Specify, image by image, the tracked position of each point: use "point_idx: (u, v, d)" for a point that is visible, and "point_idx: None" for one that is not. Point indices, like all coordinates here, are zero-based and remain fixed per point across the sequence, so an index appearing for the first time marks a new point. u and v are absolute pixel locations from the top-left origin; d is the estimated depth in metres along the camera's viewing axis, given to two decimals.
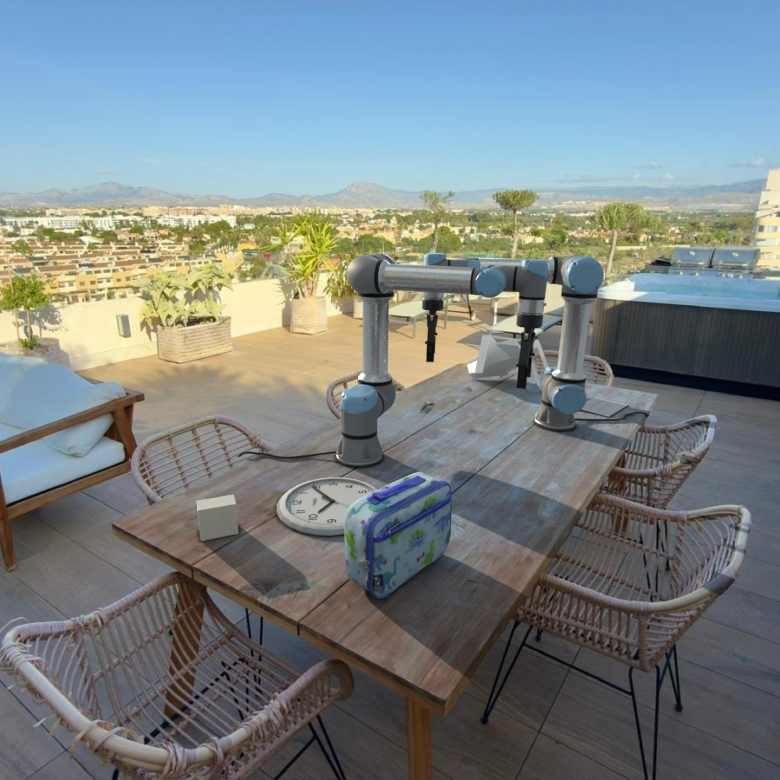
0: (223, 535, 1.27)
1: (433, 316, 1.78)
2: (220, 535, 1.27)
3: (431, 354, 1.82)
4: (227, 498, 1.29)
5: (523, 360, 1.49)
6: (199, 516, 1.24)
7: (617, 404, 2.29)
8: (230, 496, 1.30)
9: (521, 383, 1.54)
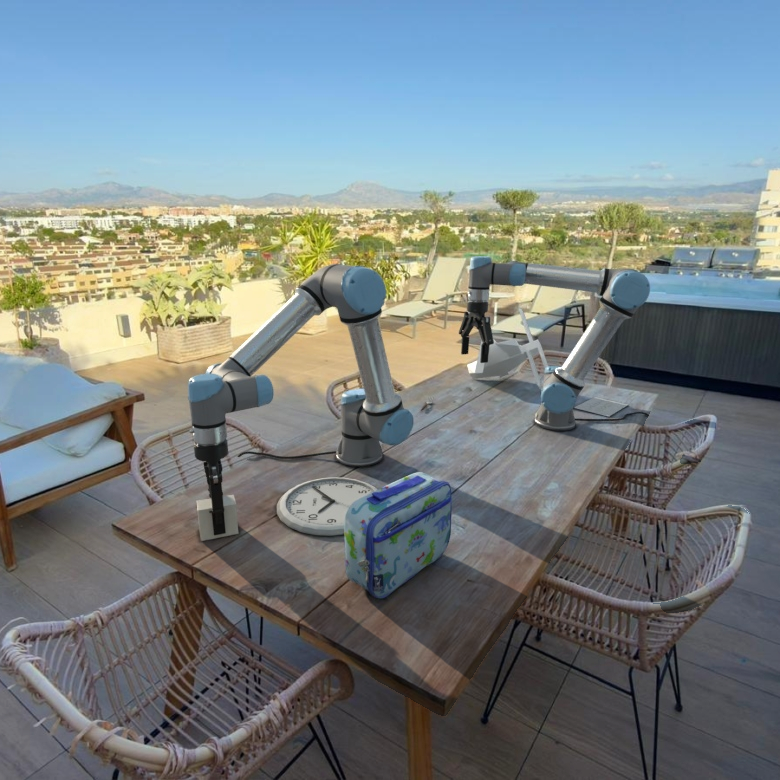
0: (223, 535, 1.27)
1: (488, 318, 1.84)
2: (220, 535, 1.27)
3: (486, 355, 1.87)
4: (227, 498, 1.29)
5: None
6: (199, 516, 1.24)
7: (617, 404, 2.29)
8: (230, 496, 1.30)
9: None
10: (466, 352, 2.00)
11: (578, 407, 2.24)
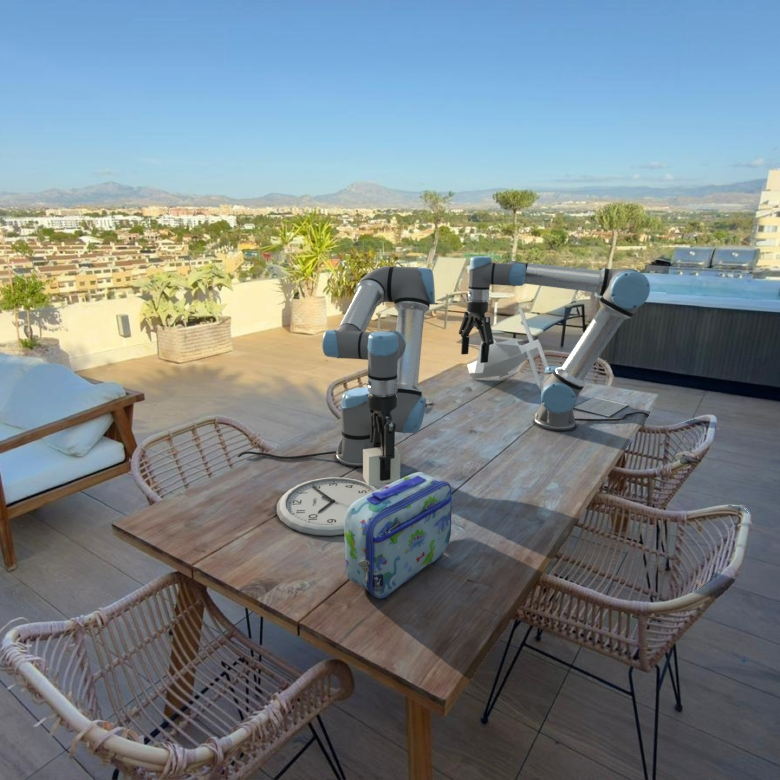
0: (387, 481, 1.39)
1: (488, 318, 1.84)
2: (385, 481, 1.39)
3: (486, 355, 1.87)
4: None
5: None
6: (369, 462, 1.35)
7: (617, 404, 2.29)
8: None
9: None
10: (466, 352, 2.00)
11: (578, 407, 2.24)
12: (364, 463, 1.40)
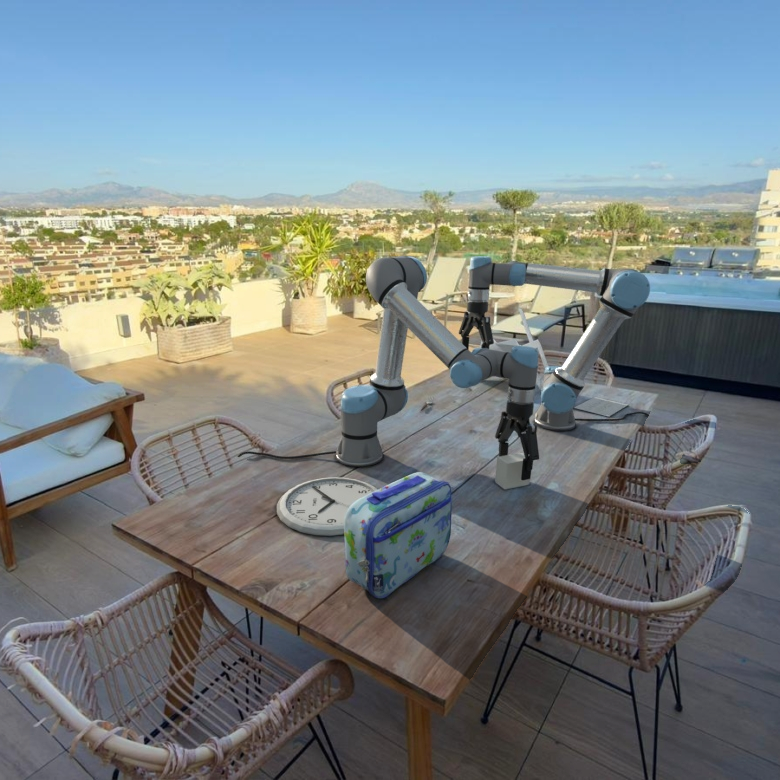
0: (519, 485, 1.55)
1: (488, 318, 1.84)
2: (517, 485, 1.55)
3: None
4: (520, 455, 1.56)
5: None
6: (507, 468, 1.51)
7: (617, 404, 2.29)
8: (521, 454, 1.57)
9: None
10: None
11: (578, 407, 2.24)
12: (498, 469, 1.55)
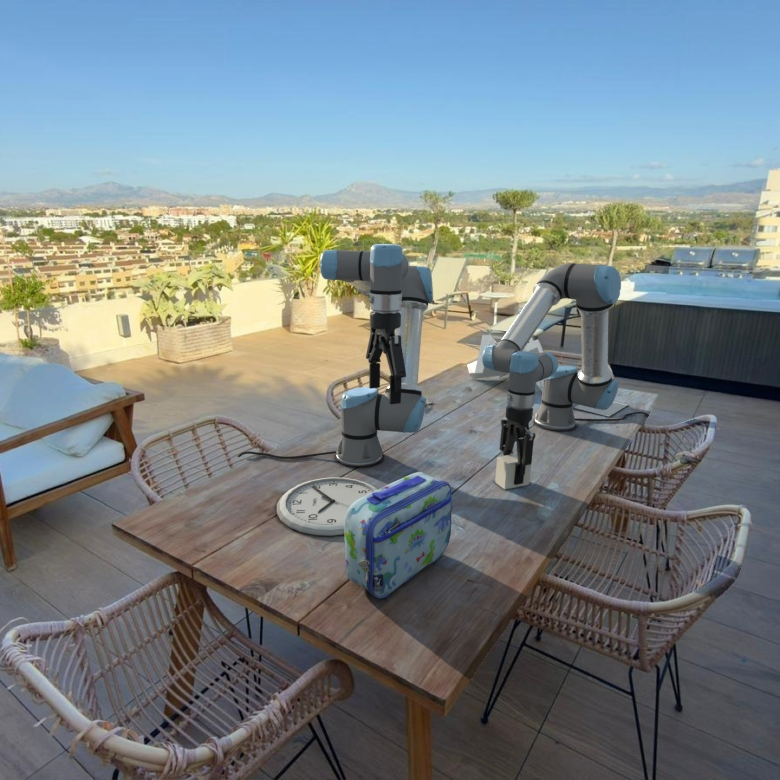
0: (519, 485, 1.55)
1: (533, 436, 1.46)
2: (517, 485, 1.55)
3: (521, 475, 1.53)
4: None
5: None
6: (507, 468, 1.51)
7: (617, 404, 2.29)
8: None
9: None
10: None
11: (578, 407, 2.24)
12: (498, 469, 1.55)
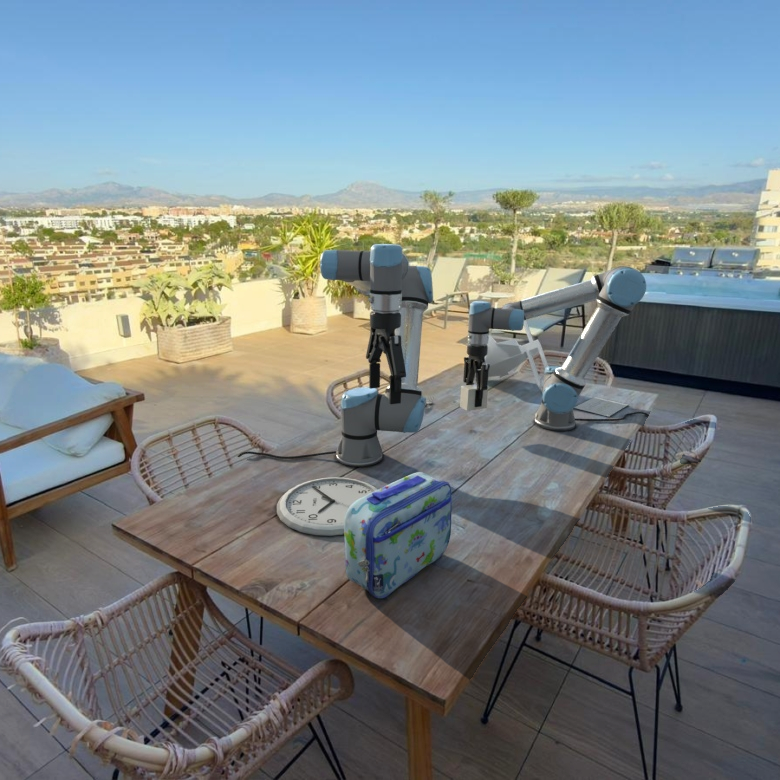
0: (478, 408, 1.97)
1: (488, 366, 1.88)
2: (477, 408, 1.96)
3: (480, 399, 1.95)
4: None
5: None
6: (468, 393, 1.93)
7: (617, 404, 2.29)
8: None
9: None
10: None
11: (578, 407, 2.24)
12: (461, 396, 1.97)
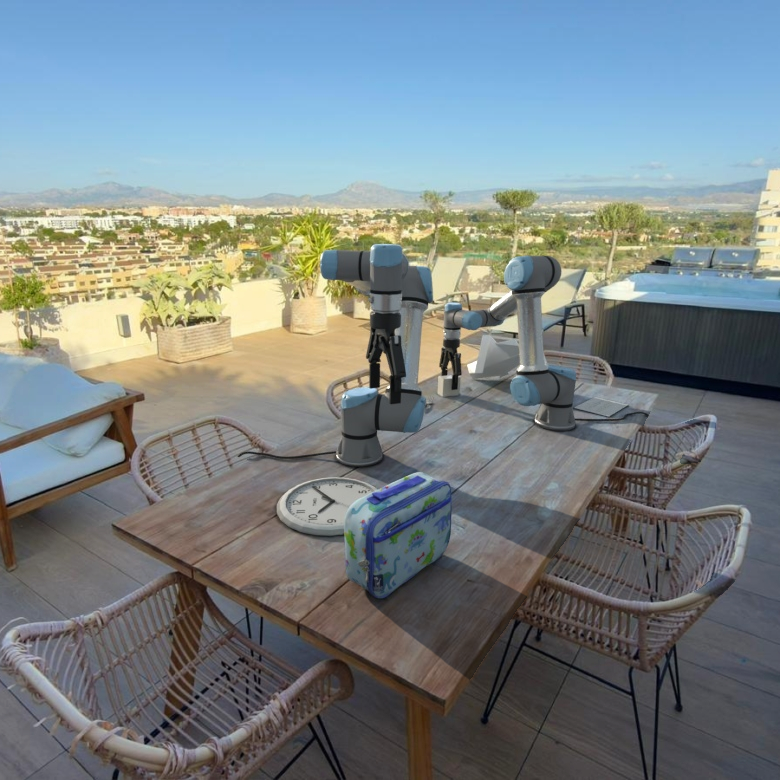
0: (452, 394, 2.38)
1: (459, 354, 2.28)
2: (451, 394, 2.37)
3: (456, 383, 2.34)
4: None
5: None
6: (443, 382, 2.34)
7: (617, 404, 2.29)
8: None
9: None
10: None
11: (578, 407, 2.24)
12: (438, 384, 2.38)
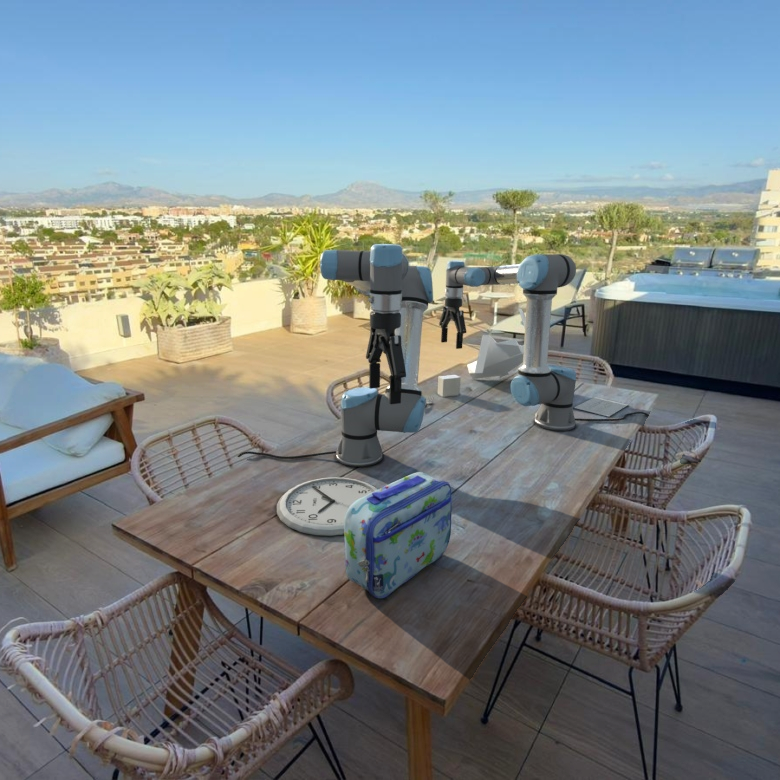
0: (452, 394, 2.38)
1: (462, 311, 2.23)
2: (451, 394, 2.37)
3: (460, 342, 2.26)
4: (453, 375, 2.39)
5: None
6: (443, 382, 2.34)
7: (617, 404, 2.29)
8: (454, 375, 2.40)
9: None
10: (445, 340, 2.39)
11: (578, 407, 2.24)
12: (438, 384, 2.38)
